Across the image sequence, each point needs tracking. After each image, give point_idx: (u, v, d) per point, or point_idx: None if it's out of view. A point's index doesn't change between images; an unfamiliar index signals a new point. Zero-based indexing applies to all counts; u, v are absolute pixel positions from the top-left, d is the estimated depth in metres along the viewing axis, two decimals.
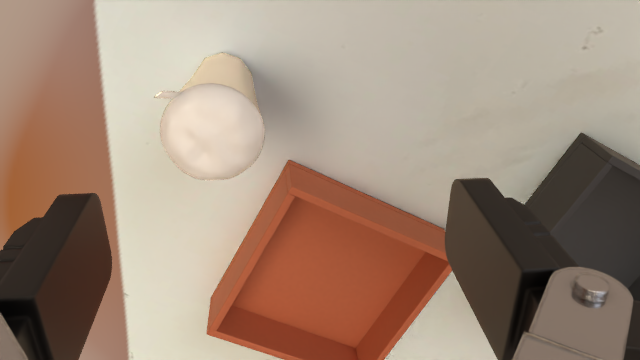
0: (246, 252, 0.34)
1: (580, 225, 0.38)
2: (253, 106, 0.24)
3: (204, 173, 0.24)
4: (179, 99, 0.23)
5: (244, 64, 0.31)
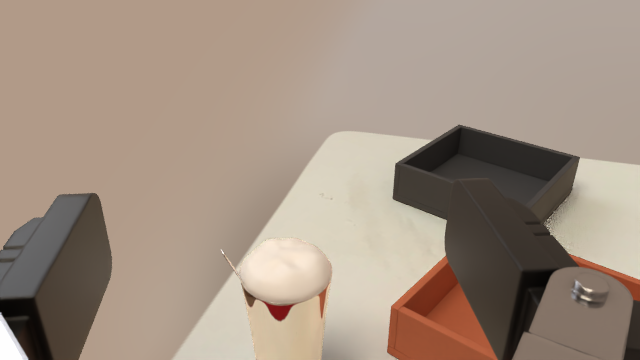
0: None
1: None
2: None
3: (315, 266, 0.26)
4: (244, 276, 0.26)
5: None
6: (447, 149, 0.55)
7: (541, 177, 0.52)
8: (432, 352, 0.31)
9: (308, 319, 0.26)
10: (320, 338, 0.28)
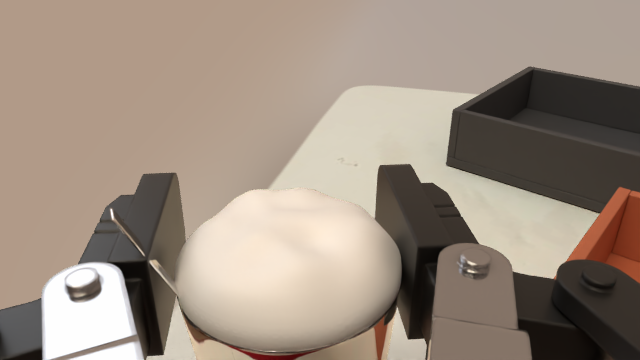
0: None
1: None
2: None
3: (363, 250, 0.10)
4: (181, 279, 0.10)
5: None
6: (515, 99, 0.39)
7: None
8: None
9: None
10: None
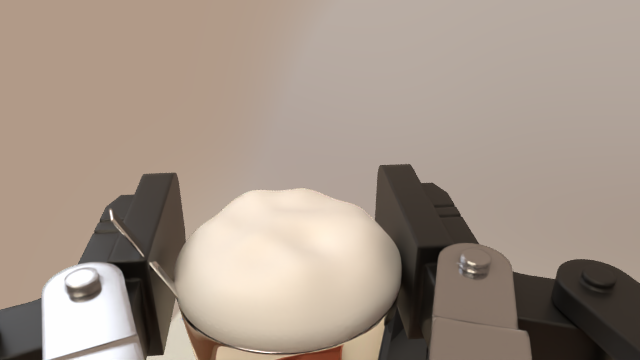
0: None
1: None
2: None
3: (362, 251, 0.10)
4: (181, 280, 0.10)
5: None
6: None
7: None
8: None
9: None
10: None
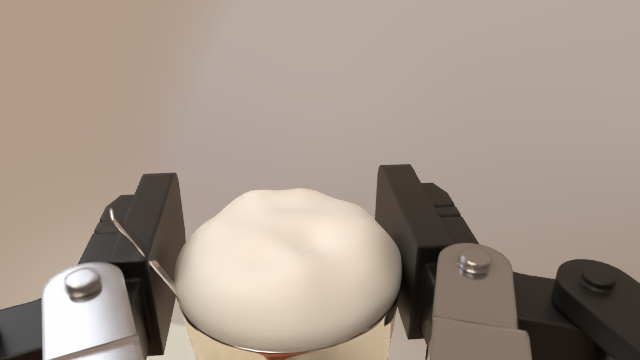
0: None
1: None
2: None
3: (363, 251, 0.10)
4: (181, 279, 0.10)
5: None
6: None
7: None
8: None
9: None
10: None
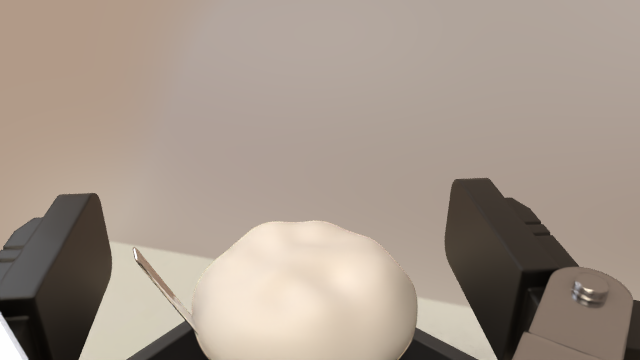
0: None
1: None
2: None
3: (381, 290, 0.10)
4: (200, 315, 0.10)
5: None
6: None
7: None
8: None
9: None
10: None
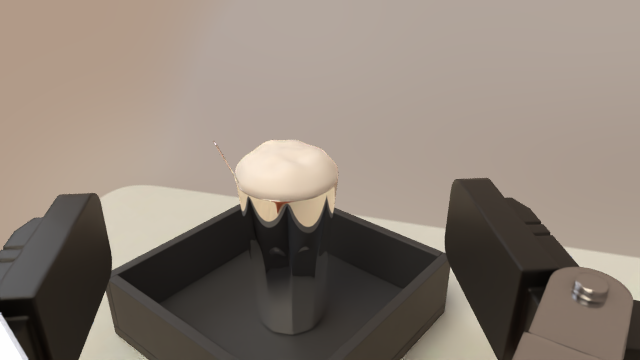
0: None
1: (250, 325, 0.27)
2: None
3: (319, 163, 0.23)
4: (239, 175, 0.23)
5: None
6: None
7: (395, 283, 0.30)
8: None
9: (312, 223, 0.23)
10: (325, 252, 0.25)
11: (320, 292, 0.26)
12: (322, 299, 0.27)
